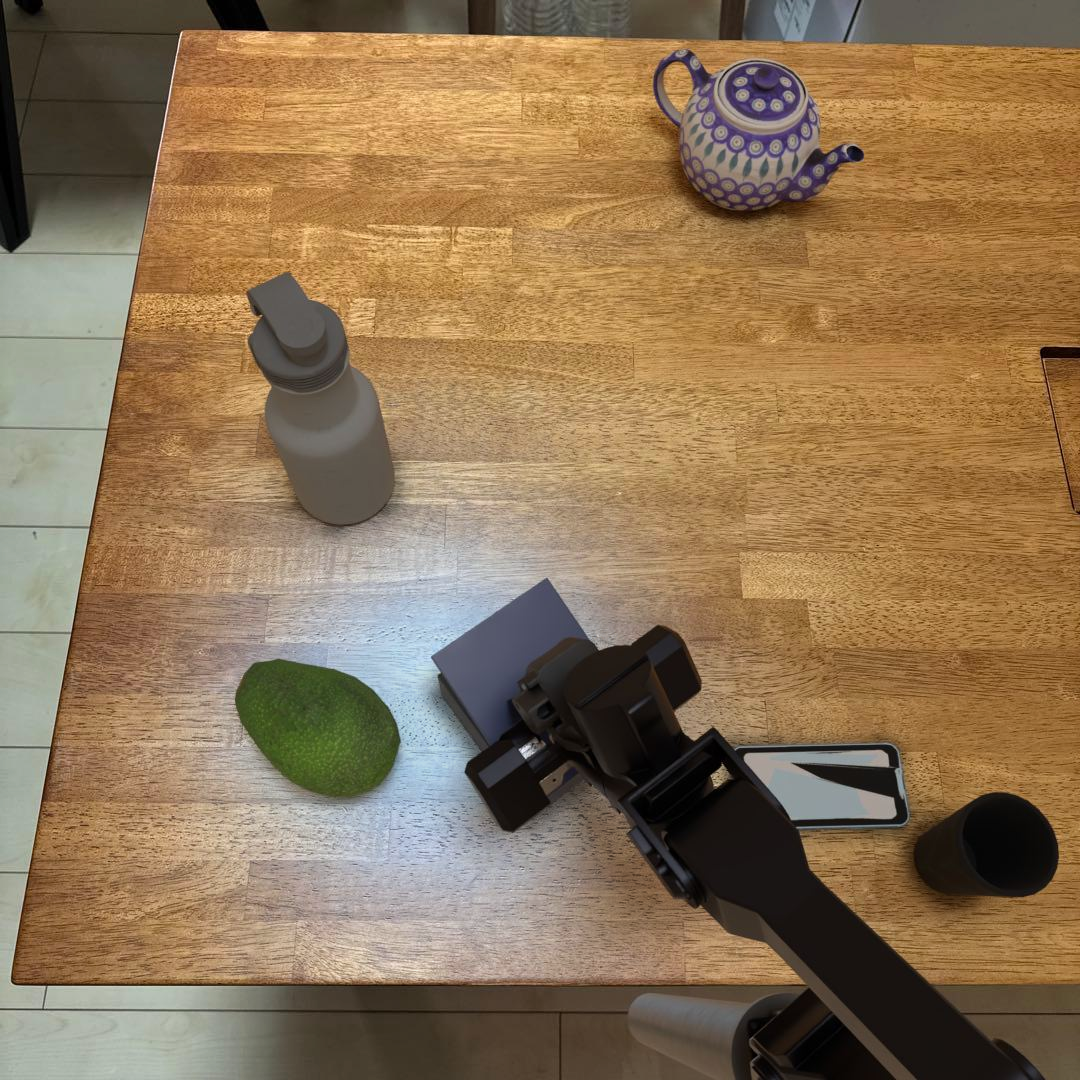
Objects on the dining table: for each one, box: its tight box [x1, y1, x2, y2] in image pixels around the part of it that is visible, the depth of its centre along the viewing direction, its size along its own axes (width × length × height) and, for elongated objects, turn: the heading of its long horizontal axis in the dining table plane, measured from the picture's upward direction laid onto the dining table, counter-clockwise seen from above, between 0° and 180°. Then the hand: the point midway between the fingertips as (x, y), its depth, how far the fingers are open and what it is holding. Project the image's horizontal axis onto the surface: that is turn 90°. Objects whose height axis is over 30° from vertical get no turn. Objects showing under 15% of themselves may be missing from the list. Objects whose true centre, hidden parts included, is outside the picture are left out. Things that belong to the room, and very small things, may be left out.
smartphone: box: [730, 741, 911, 831], centre depth 89 cm, size 7×1×15 cm
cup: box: [912, 791, 1060, 898], centre depth 82 cm, size 8×8×12 cm
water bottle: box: [245, 271, 396, 526], centre depth 87 cm, size 10×10×28 cm
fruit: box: [234, 658, 402, 798], centre depth 86 cm, size 15×10×10 cm, turn 55°
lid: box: [430, 577, 591, 797], centre depth 81 cm, size 14×12×4 cm
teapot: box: [652, 48, 865, 211], centre depth 110 cm, size 25×15×15 cm, turn 51°
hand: (537, 684), depth 82 cm, fingers closed on lid, 5 cm apart
